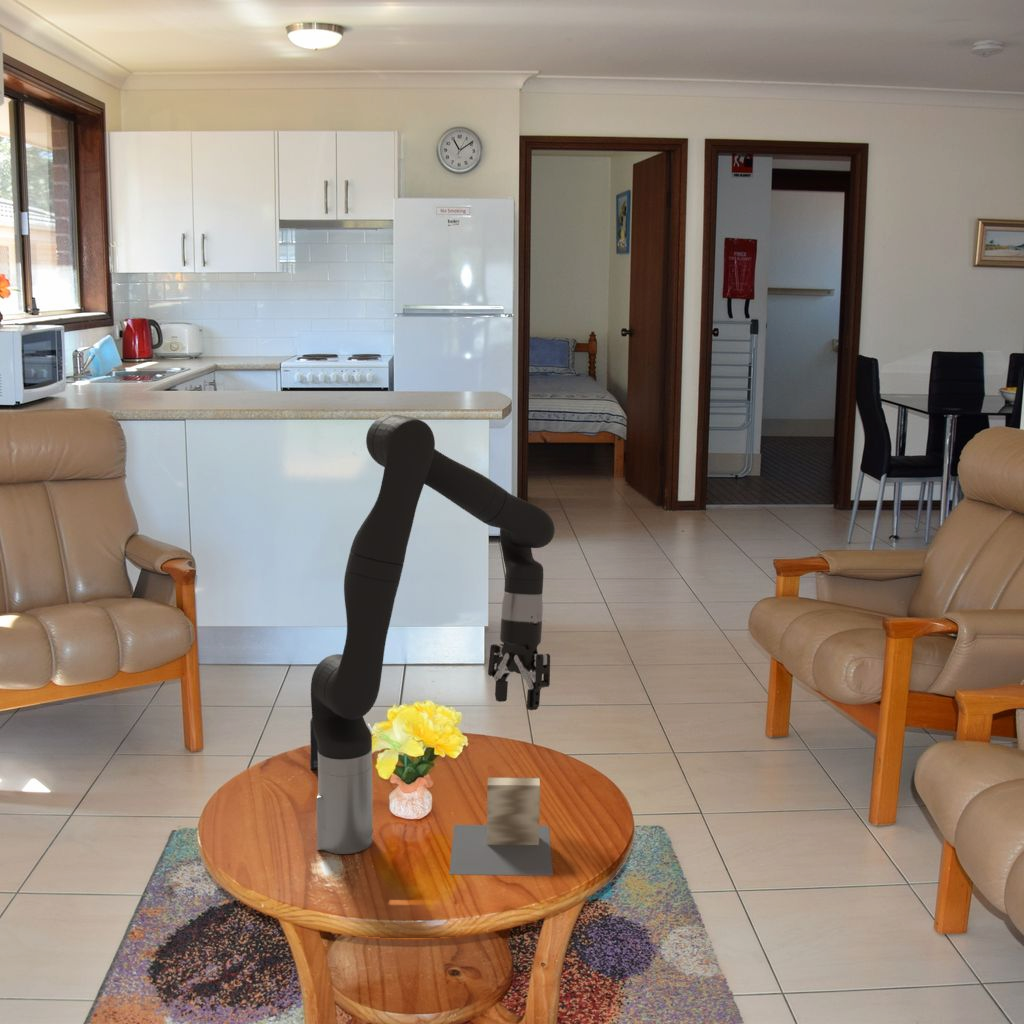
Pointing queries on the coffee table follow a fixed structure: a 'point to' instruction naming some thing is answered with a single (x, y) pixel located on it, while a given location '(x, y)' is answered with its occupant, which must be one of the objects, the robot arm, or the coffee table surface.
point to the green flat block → (513, 811)
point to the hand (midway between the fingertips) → (516, 705)
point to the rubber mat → (498, 854)
